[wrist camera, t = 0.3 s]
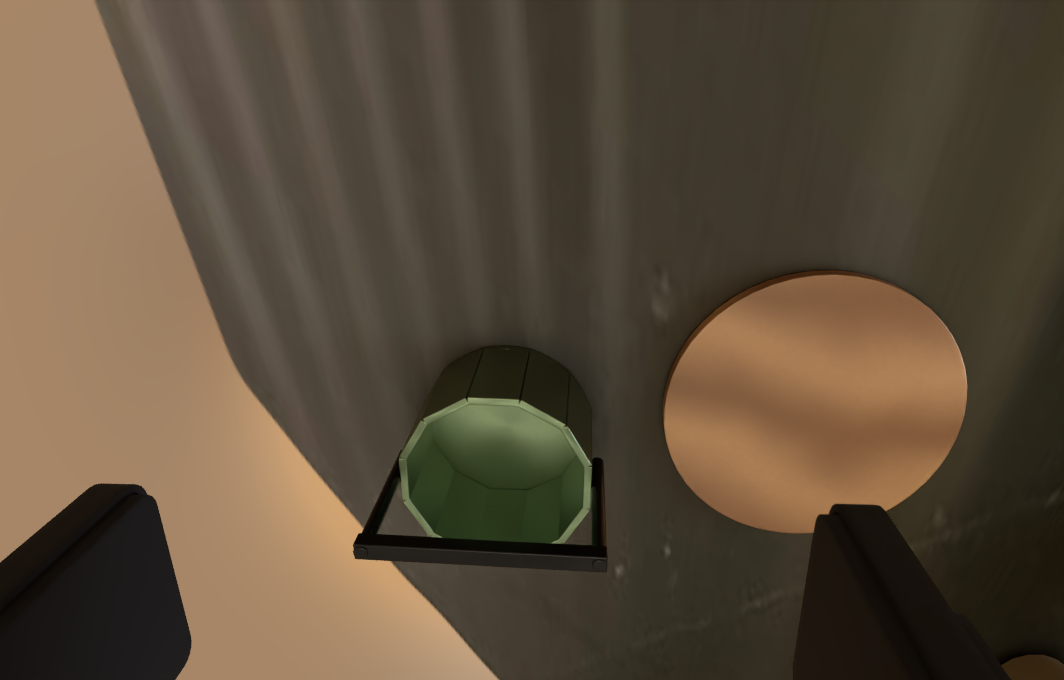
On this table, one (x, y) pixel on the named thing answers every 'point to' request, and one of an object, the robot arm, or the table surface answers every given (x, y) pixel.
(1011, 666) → the squeeze bottle
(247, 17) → the table surface
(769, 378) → the trivet
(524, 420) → the pot
